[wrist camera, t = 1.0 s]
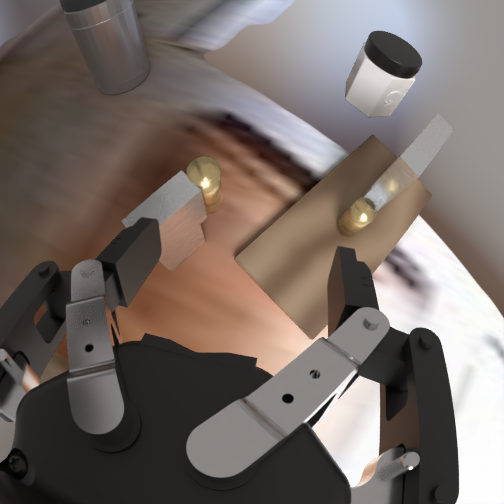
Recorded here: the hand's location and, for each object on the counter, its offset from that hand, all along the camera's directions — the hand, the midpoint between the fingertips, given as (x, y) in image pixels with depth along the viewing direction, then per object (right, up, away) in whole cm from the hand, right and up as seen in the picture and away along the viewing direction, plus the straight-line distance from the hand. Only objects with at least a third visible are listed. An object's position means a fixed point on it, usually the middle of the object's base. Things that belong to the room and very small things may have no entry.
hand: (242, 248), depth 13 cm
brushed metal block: (-6, +1, +20) cm, 21 cm away
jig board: (+12, +3, +22) cm, 25 cm away
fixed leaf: (+15, +7, +21) cm, 27 cm away
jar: (+19, +24, +27) cm, 41 cm away
